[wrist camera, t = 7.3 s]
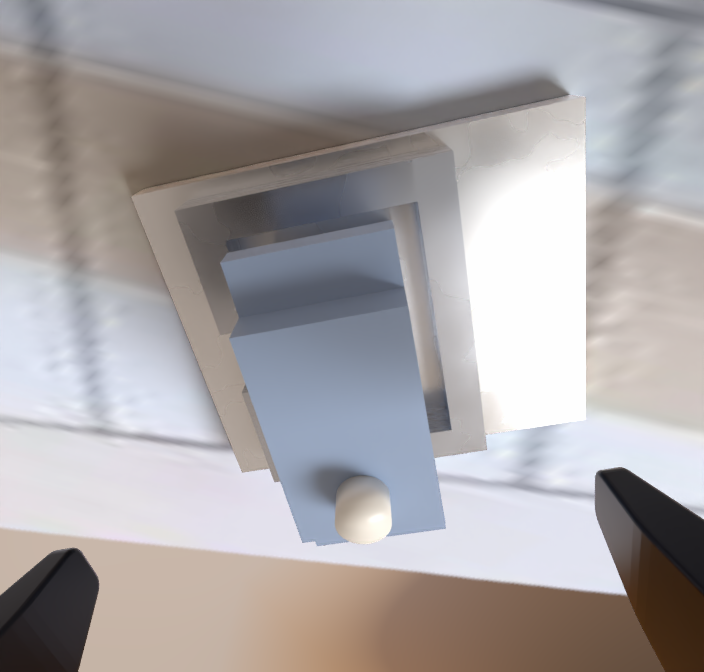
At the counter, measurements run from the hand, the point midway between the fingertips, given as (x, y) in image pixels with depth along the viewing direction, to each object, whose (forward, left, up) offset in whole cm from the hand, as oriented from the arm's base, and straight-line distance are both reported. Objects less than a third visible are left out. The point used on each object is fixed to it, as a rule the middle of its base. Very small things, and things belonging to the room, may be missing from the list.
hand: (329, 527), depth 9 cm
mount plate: (-1, 0, -9) cm, 9 cm away
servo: (0, 0, -8) cm, 8 cm away
